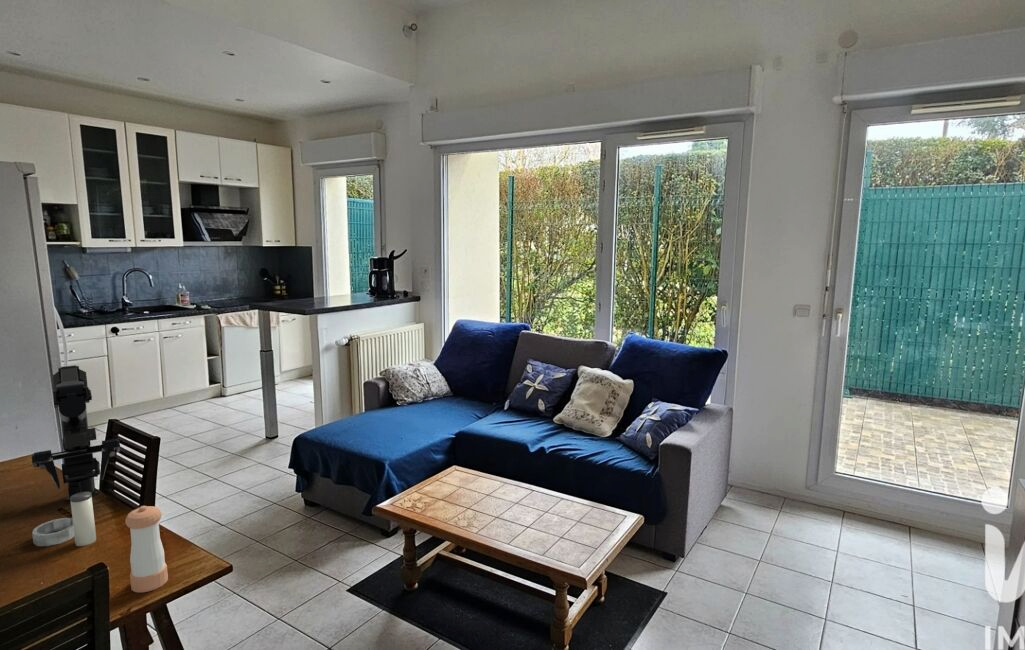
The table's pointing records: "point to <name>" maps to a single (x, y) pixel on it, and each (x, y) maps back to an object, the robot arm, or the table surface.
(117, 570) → the table surface
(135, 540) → the pepper shaker
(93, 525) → the peg
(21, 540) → the table surface
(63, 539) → the collar
